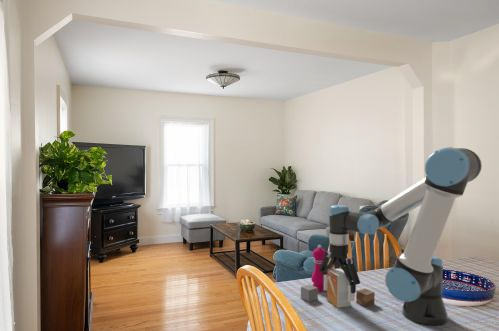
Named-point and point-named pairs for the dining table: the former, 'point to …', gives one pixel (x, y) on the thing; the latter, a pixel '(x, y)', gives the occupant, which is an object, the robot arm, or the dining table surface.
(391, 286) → the robot arm
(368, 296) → the walnut block
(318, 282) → the pepper mill
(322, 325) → the dining table surface
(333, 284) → the small box
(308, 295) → the charcoal block
